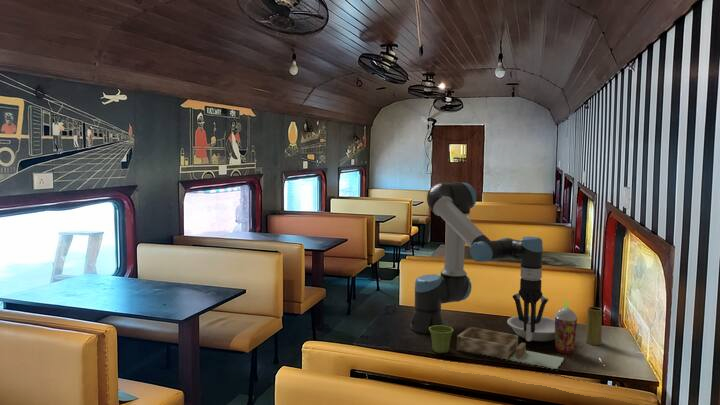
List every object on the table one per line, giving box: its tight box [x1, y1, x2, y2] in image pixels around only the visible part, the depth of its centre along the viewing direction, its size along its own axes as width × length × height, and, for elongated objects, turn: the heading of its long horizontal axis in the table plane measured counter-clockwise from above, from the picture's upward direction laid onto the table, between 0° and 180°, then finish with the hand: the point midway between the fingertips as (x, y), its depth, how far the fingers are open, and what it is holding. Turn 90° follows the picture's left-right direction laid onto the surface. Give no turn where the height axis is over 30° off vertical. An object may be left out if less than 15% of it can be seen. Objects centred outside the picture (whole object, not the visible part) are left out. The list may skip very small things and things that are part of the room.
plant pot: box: [429, 325, 454, 354], centre depth 203 cm, size 9×9×9 cm
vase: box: [585, 306, 603, 346], centre depth 213 cm, size 6×6×14 cm
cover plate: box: [508, 342, 565, 370], centre depth 194 cm, size 17×12×5 cm
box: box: [456, 326, 519, 361], centre depth 205 cm, size 20×14×6 cm
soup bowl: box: [506, 314, 555, 343], centre depth 218 cm, size 24×24×7 cm
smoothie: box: [553, 300, 578, 355], centre depth 203 cm, size 8×8×20 cm
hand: (529, 340), depth 196 cm, fingers closed
